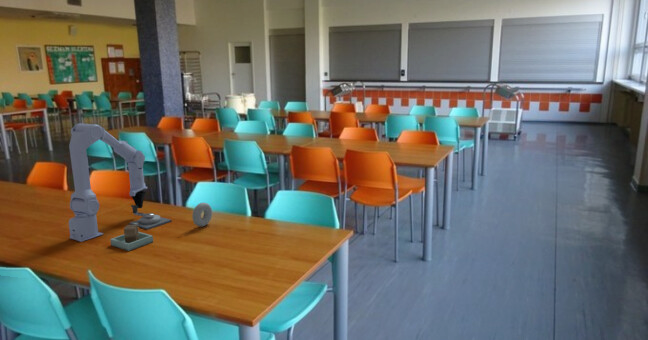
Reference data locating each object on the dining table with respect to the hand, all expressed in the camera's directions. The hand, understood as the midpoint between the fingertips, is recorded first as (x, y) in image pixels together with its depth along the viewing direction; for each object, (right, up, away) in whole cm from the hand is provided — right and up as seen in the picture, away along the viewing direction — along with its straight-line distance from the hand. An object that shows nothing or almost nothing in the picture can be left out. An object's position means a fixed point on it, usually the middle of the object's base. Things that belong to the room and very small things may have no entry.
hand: (139, 207), depth 211 cm
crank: (+4, -3, -7) cm, 8 cm away
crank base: (+8, -6, -8) cm, 12 cm away
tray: (+9, -11, -31) cm, 34 cm away
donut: (+31, -7, -12) cm, 34 cm away
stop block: (+9, -10, -30) cm, 33 cm away
